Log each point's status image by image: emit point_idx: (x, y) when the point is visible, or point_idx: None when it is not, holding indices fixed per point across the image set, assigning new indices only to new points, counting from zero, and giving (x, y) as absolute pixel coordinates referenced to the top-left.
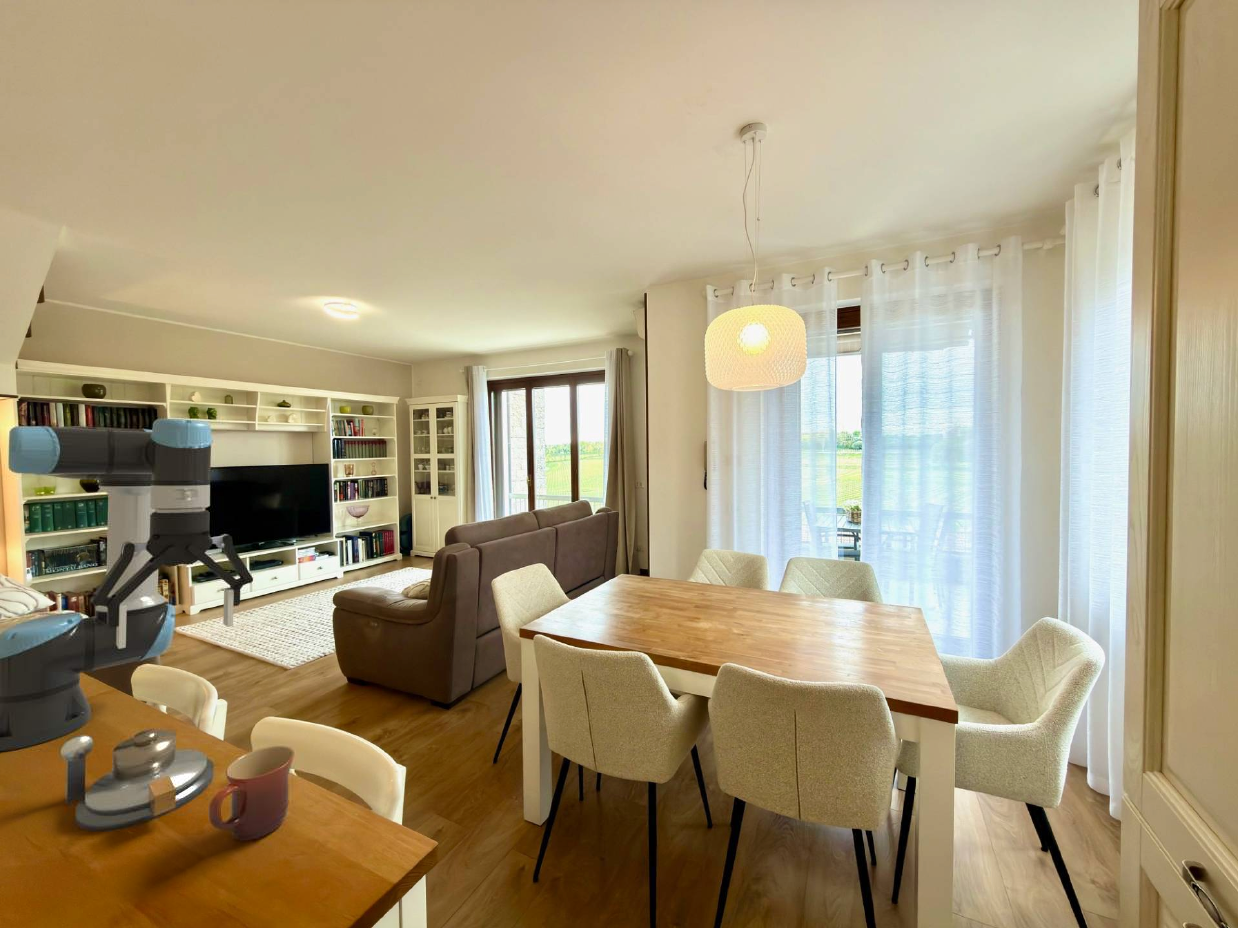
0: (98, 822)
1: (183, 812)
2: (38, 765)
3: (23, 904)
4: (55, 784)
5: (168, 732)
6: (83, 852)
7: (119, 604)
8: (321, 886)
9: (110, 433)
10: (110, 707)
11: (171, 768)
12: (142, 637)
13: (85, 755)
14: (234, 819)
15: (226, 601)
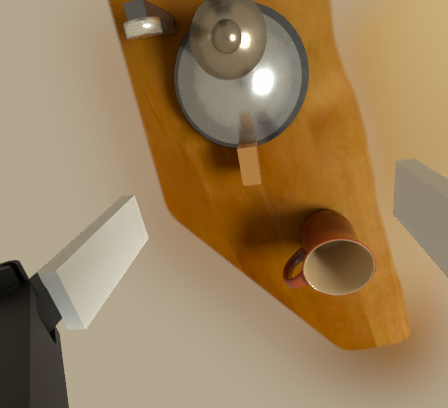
0: (199, 132)
1: (270, 153)
2: None
3: (171, 203)
4: None
5: (257, 19)
6: (196, 161)
7: (58, 335)
8: (339, 320)
9: None
10: None
11: (260, 82)
12: None
13: (158, 34)
14: (302, 259)
15: (444, 243)
